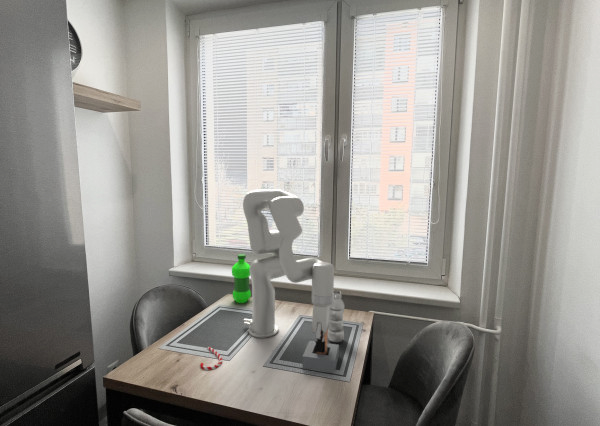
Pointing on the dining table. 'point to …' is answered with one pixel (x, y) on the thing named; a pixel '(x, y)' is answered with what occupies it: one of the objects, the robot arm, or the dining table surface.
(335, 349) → the socket block
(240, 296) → the plastic bottle
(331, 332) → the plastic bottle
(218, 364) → the candy cane
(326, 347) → the peg
